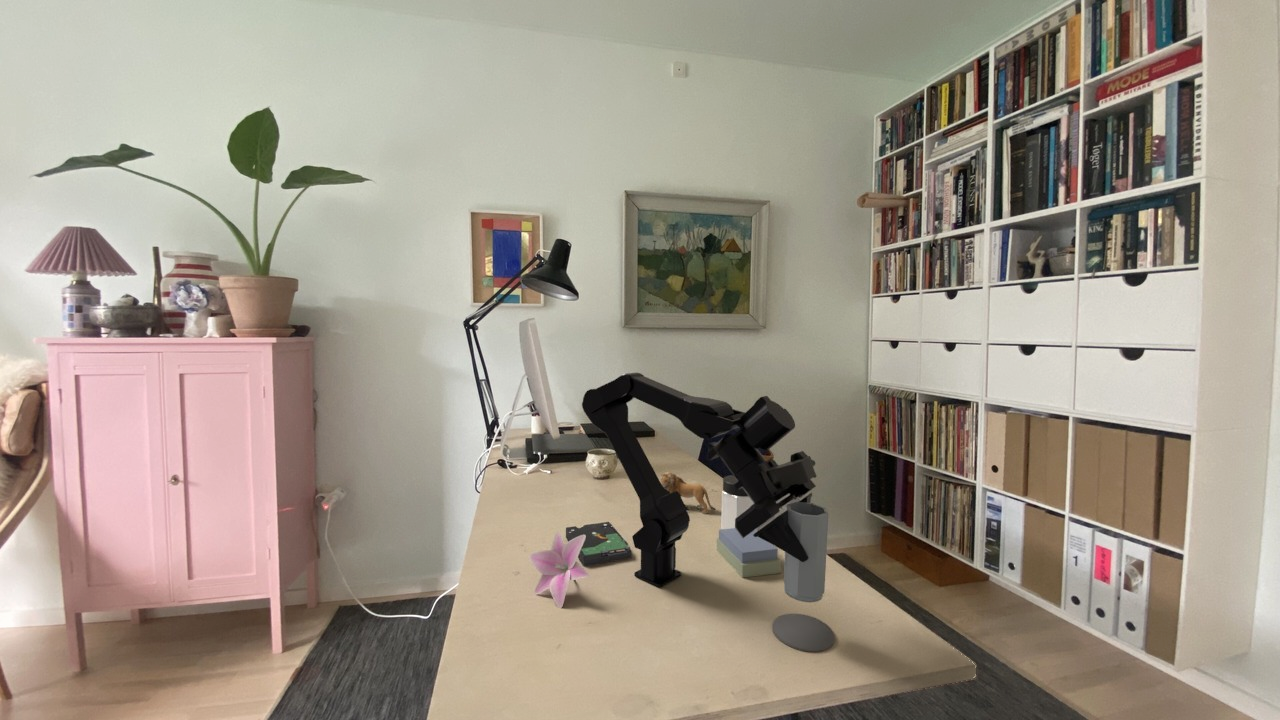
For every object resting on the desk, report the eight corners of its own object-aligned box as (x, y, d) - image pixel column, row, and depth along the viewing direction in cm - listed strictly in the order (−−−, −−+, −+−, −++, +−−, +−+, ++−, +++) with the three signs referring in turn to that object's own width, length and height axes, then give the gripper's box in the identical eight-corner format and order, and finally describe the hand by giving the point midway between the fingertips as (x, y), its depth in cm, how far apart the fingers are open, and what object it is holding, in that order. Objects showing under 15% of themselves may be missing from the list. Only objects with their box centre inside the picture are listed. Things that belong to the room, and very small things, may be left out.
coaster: (819, 660, 70) (819, 657, 70) (761, 633, 76) (761, 630, 76) (843, 632, 76) (843, 629, 76) (788, 609, 82) (788, 607, 82)
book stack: (780, 572, 95) (781, 550, 94) (742, 577, 93) (742, 554, 92) (751, 546, 106) (751, 526, 106) (716, 549, 104) (717, 529, 104)
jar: (766, 532, 114) (768, 481, 113) (744, 542, 108) (745, 488, 108) (736, 520, 120) (737, 472, 120) (713, 529, 115) (714, 478, 114)
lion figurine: (657, 508, 128) (657, 474, 128) (662, 501, 133) (663, 468, 133) (714, 515, 124) (714, 480, 123) (717, 508, 129) (718, 474, 128)
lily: (527, 582, 93) (512, 549, 88) (583, 547, 97) (571, 514, 92) (553, 632, 83) (537, 598, 78) (613, 591, 88) (601, 557, 83)
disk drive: (564, 539, 110) (583, 569, 96) (564, 527, 110) (583, 555, 96) (608, 532, 114) (632, 560, 100) (608, 520, 114) (632, 546, 100)
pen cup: (806, 606, 72) (810, 519, 71) (776, 588, 76) (779, 506, 75) (830, 595, 75) (835, 511, 74) (800, 578, 80) (803, 499, 79)
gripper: (757, 448, 69) (834, 548, 63) (805, 428, 84) (872, 507, 78) (706, 491, 75) (773, 586, 69) (760, 465, 89) (819, 542, 83)
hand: (813, 552), depth 74 cm, fingers closed on pen cup, 6 cm apart
